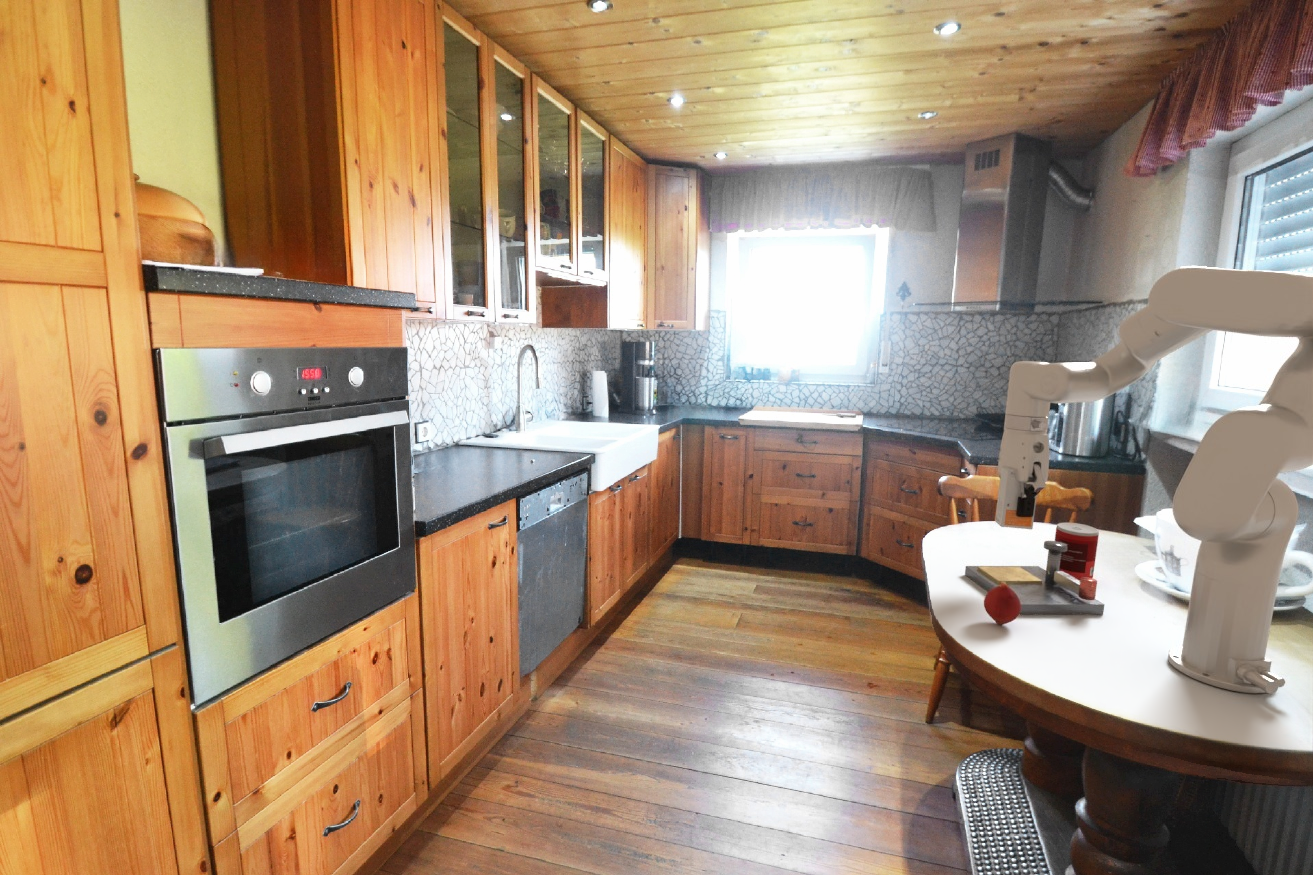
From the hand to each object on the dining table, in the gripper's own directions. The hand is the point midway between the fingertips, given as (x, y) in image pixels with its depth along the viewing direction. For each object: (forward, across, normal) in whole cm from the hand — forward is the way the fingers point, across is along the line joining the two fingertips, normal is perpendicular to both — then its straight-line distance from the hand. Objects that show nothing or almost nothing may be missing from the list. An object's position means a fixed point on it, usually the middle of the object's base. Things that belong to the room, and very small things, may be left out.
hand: (1015, 511), depth 133 cm
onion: (+16, -18, +12) cm, 27 cm away
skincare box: (+3, 0, 0) cm, 3 cm away
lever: (+13, -10, -7) cm, 18 cm away
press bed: (+16, -4, -2) cm, 16 cm away
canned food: (+16, +5, -17) cm, 24 cm away
